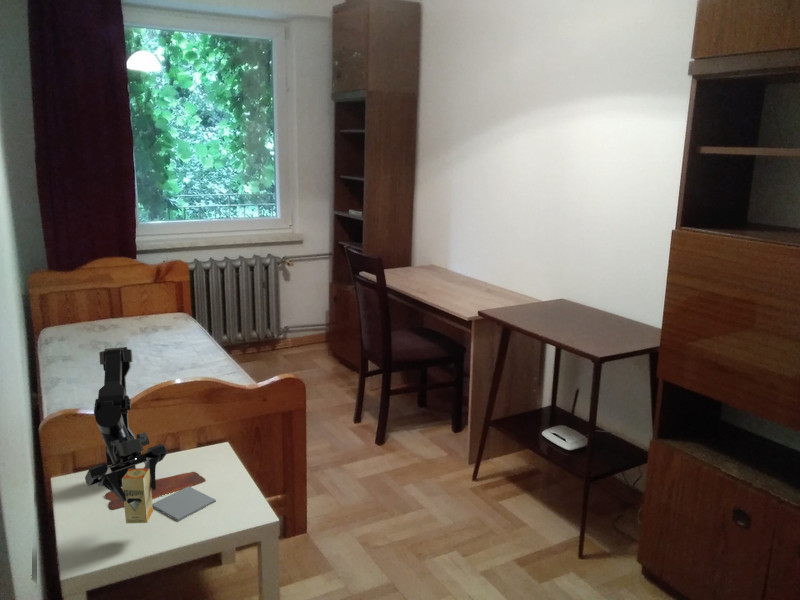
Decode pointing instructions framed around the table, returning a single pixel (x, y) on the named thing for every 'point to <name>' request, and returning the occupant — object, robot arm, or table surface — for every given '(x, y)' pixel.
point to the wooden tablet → (162, 487)
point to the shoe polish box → (137, 495)
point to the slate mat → (183, 503)
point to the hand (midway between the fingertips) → (140, 495)
